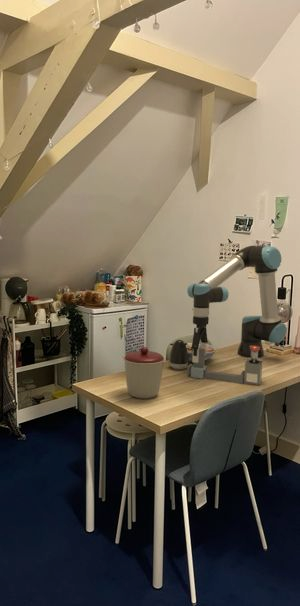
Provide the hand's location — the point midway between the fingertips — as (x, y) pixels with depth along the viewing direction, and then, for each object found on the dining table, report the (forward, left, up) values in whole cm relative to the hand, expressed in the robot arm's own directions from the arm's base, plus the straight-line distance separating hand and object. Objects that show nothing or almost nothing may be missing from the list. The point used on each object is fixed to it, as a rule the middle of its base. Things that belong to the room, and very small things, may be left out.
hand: (199, 358), depth 219 cm
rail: (0, +9, -9) cm, 12 cm away
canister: (+35, -15, -9) cm, 39 cm away
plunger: (-3, +26, +1) cm, 26 cm away
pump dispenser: (-9, -13, -9) cm, 18 cm away
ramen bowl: (-27, -9, -9) cm, 30 cm away
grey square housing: (-3, +26, -9) cm, 28 cm away
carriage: (0, 0, -9) cm, 9 cm away
